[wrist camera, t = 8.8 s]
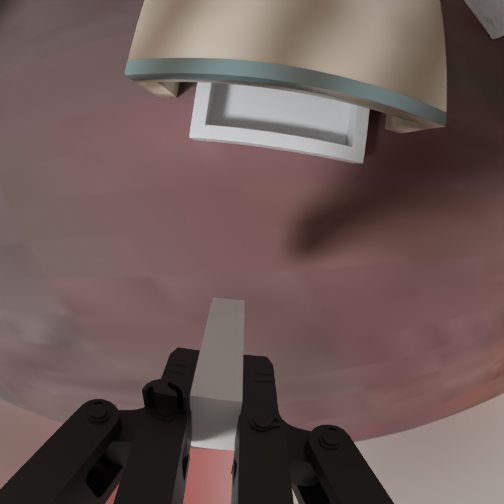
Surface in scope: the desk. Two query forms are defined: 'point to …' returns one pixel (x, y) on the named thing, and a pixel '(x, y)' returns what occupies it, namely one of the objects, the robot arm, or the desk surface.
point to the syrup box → (489, 15)
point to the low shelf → (302, 51)
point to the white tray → (279, 121)
